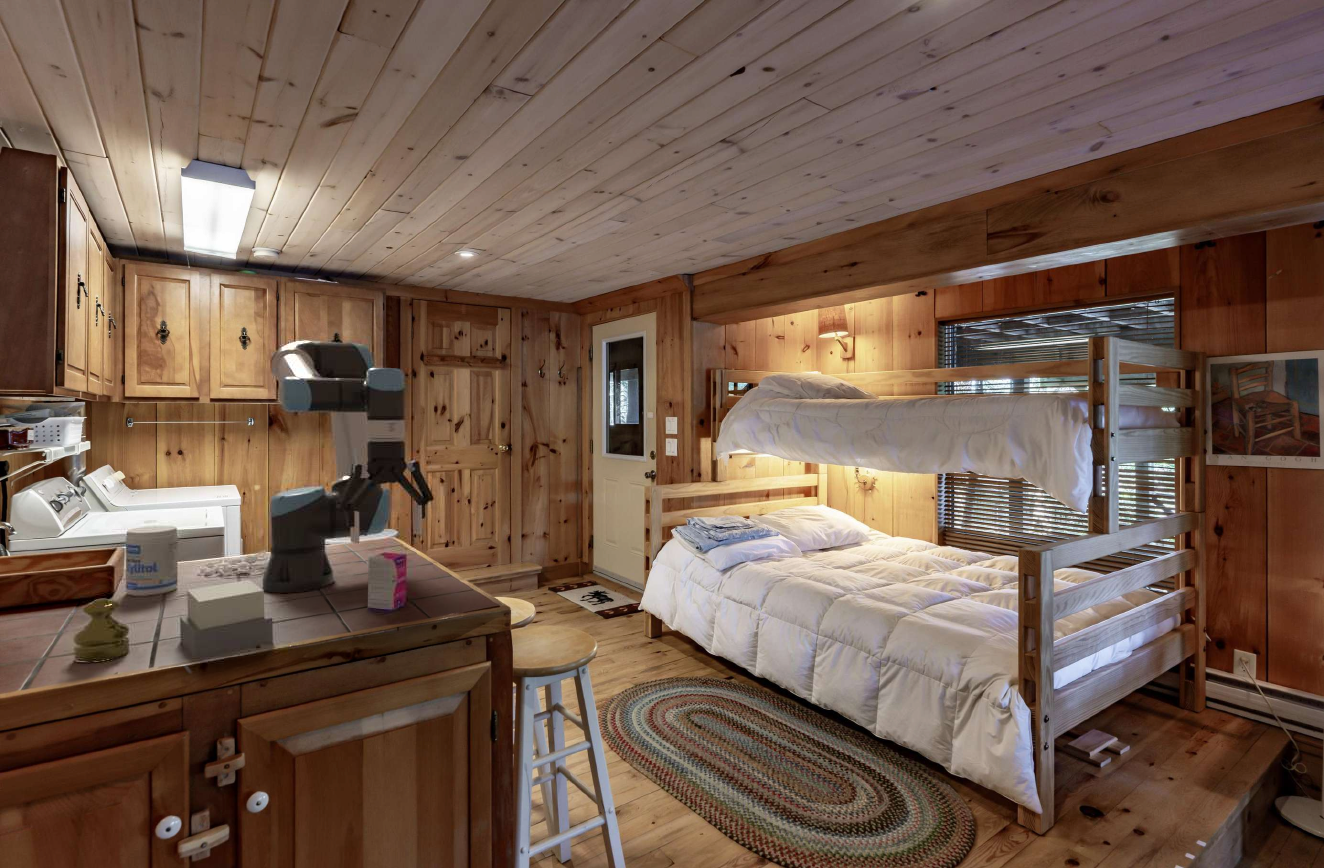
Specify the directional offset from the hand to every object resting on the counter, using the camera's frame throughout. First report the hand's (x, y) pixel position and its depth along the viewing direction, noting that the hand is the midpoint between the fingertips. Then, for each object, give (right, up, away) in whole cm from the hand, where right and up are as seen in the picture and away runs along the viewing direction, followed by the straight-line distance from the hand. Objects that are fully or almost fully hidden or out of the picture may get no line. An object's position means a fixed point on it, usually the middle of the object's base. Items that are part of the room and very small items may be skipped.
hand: (387, 538), depth 143 cm
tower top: (-21, -11, -21) cm, 32 cm away
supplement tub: (-59, -14, +11) cm, 62 cm away
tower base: (-21, -16, -21) cm, 34 cm away
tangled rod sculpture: (-50, -14, +30) cm, 60 cm away
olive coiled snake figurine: (-38, -16, -28) cm, 50 cm away
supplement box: (0, -16, +1) cm, 16 cm away
